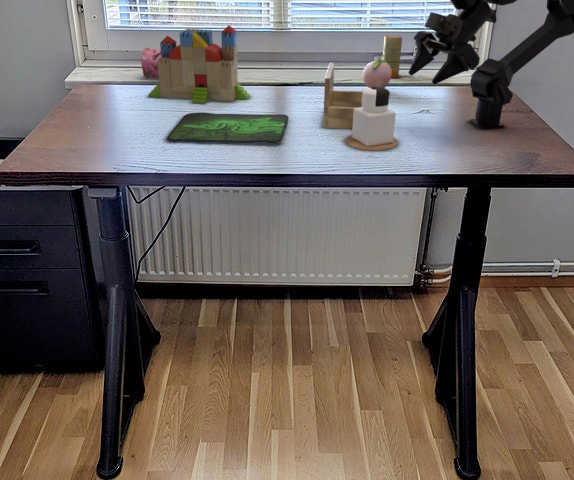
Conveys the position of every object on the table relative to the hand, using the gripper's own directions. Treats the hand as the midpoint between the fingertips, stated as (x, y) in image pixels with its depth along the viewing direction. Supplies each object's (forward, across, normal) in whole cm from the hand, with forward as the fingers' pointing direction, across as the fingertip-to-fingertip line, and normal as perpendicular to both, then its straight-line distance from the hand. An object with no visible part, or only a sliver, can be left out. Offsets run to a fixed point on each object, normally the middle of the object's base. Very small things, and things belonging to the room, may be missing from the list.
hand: (421, 78), depth 146 cm
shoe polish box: (-10, -54, +29) cm, 62 cm away
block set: (+36, -54, -16) cm, 67 cm away
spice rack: (+15, -18, +4) cm, 24 cm away
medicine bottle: (+18, 0, +1) cm, 18 cm away
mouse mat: (+37, -22, -18) cm, 47 cm away
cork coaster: (+18, 0, +1) cm, 18 cm away
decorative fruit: (+1, -38, +18) cm, 42 cm away
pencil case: (+36, -78, -16) cm, 87 cm away
